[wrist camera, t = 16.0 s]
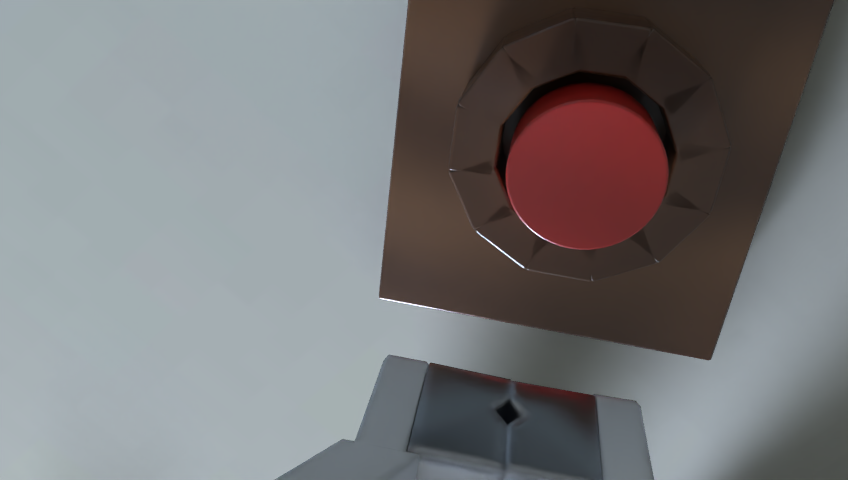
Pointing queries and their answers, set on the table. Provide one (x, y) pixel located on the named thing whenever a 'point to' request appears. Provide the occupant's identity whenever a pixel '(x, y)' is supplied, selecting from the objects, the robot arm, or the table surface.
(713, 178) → the button block
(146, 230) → the table surface
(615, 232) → the button
